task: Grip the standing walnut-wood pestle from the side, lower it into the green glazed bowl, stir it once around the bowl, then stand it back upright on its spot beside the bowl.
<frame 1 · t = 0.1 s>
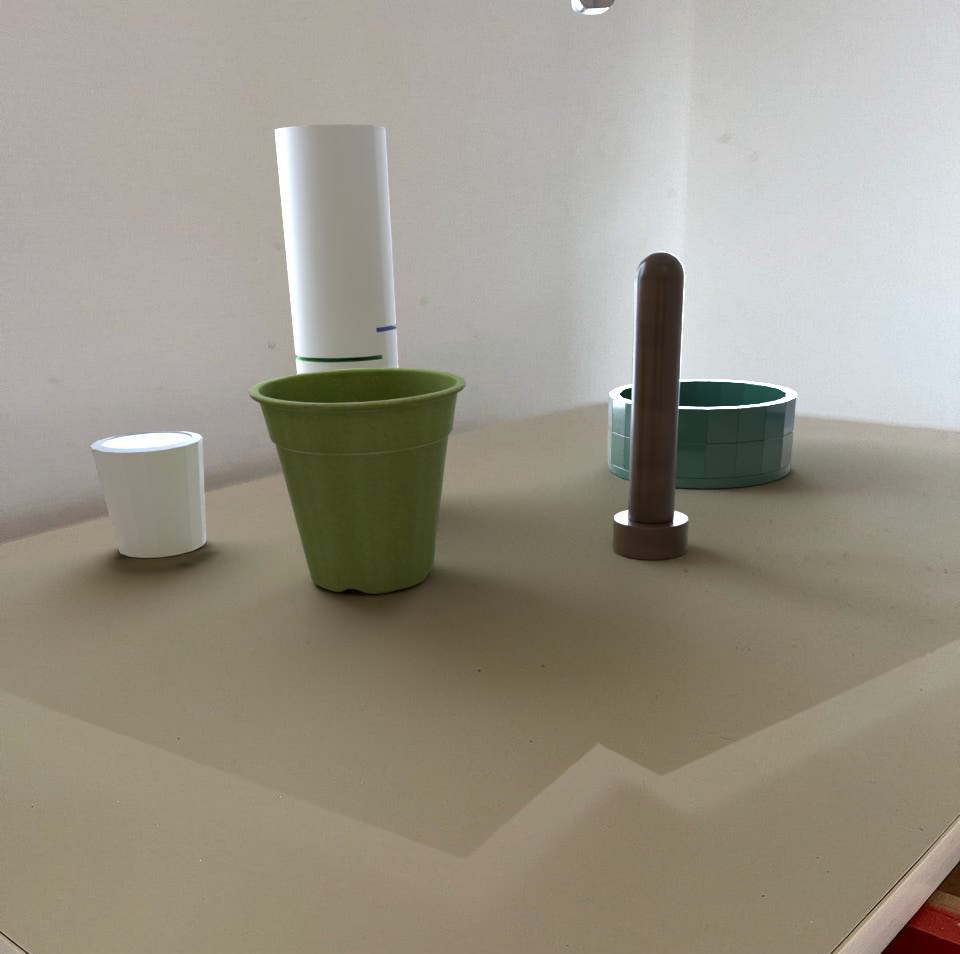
pestle: (649, 548, 64), on the table
cylindrical container: (358, 507, 76), on the table
plant pot: (372, 580, 61), on the table
shot glass: (163, 547, 68), on the table
bowl: (697, 467, 84), on the table
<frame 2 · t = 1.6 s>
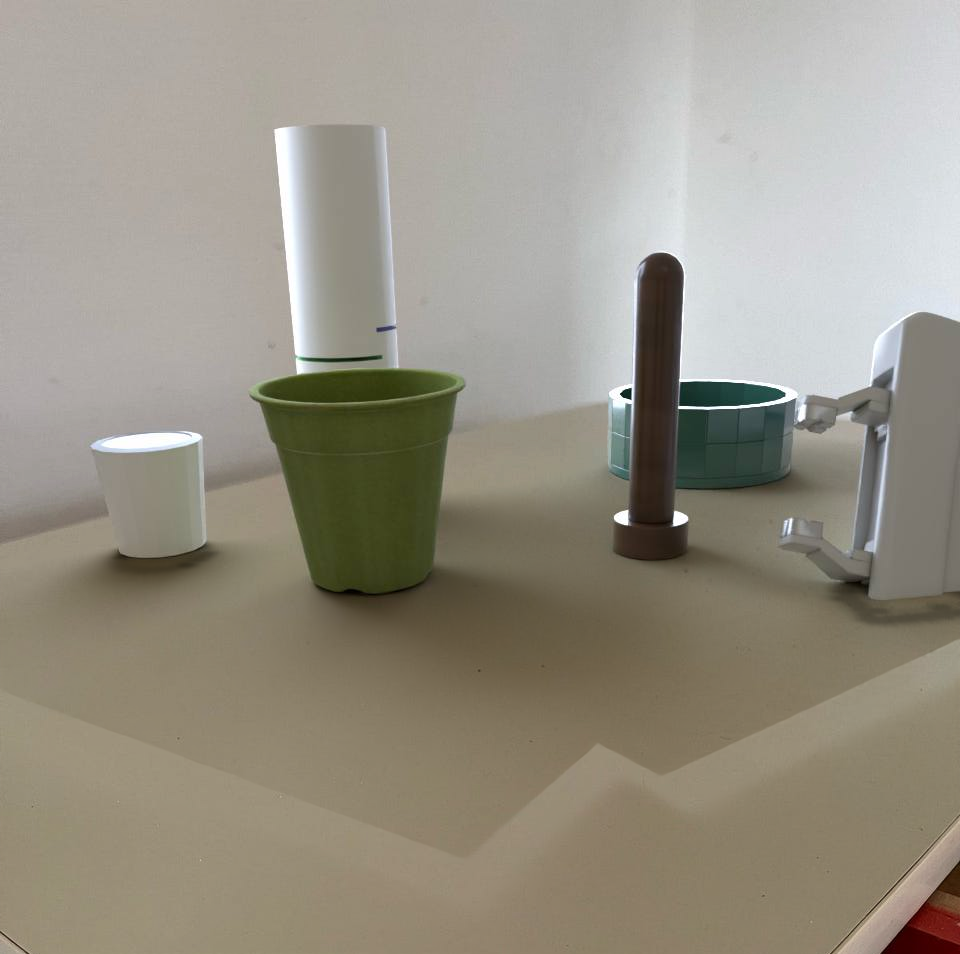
hand: (791, 471, 57), 6 cm above the table, tool horizontal, fingers open, 6 cm apart
nothing on the table moved.
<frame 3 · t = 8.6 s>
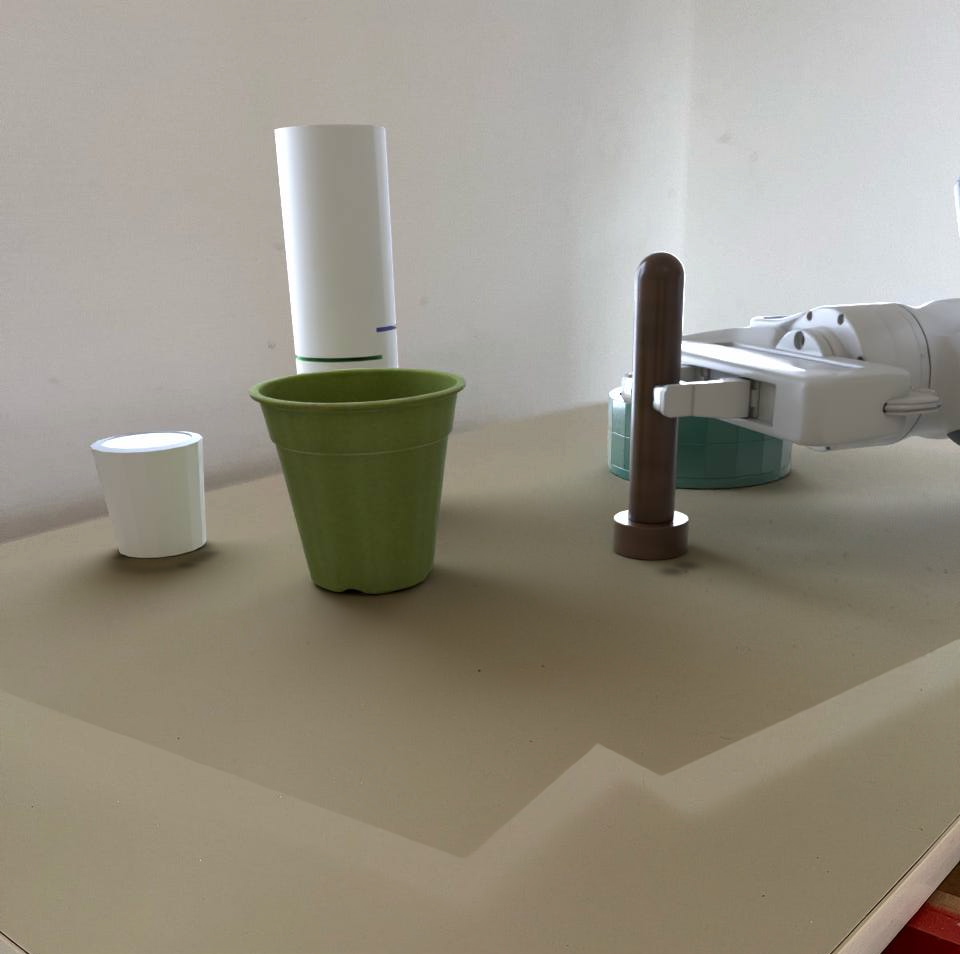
hand: (641, 395, 60), 10 cm above the table, tool horizontal, fingers closed on pestle, 3 cm apart
pestle: (649, 548, 64), on the table, touching gripper
everything else where it was.
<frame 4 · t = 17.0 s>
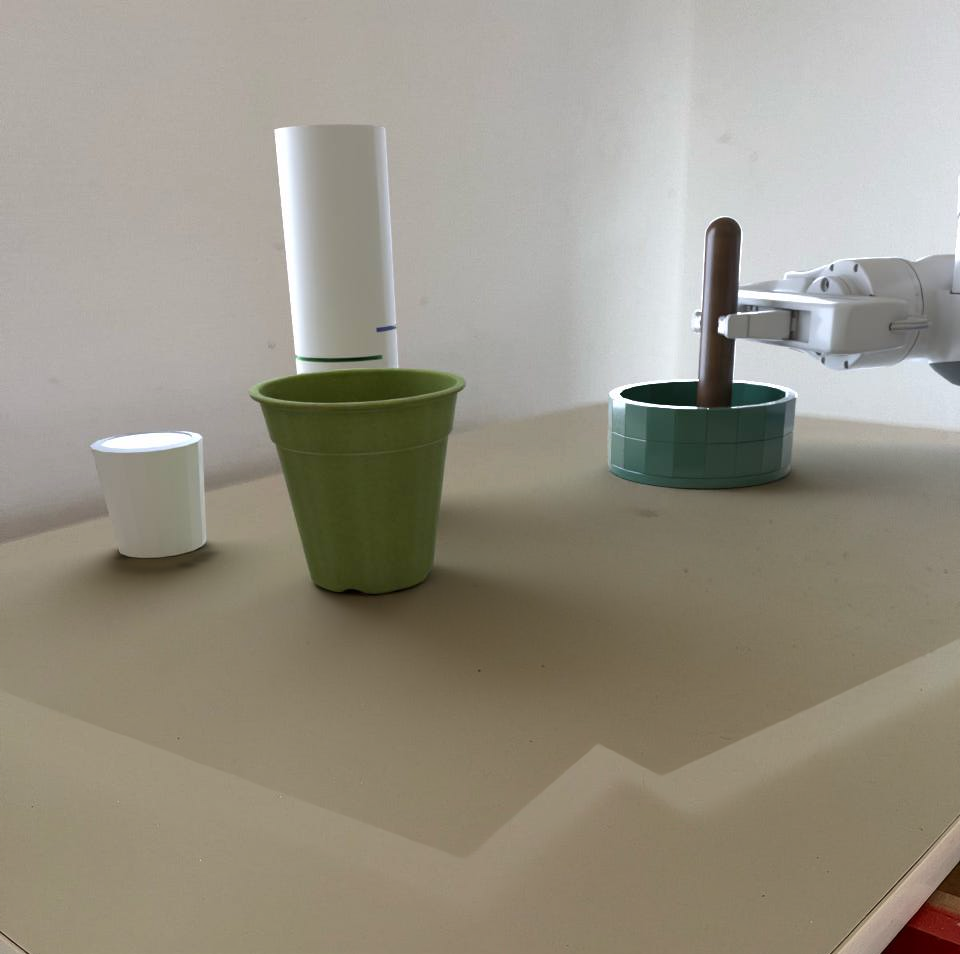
hand: (708, 324, 81), 11 cm above the table, tool horizontal, fingers closed on pestle, 3 cm apart
pestle: (712, 443, 85), point 2 cm above the table, touching gripper
everything else where it was.
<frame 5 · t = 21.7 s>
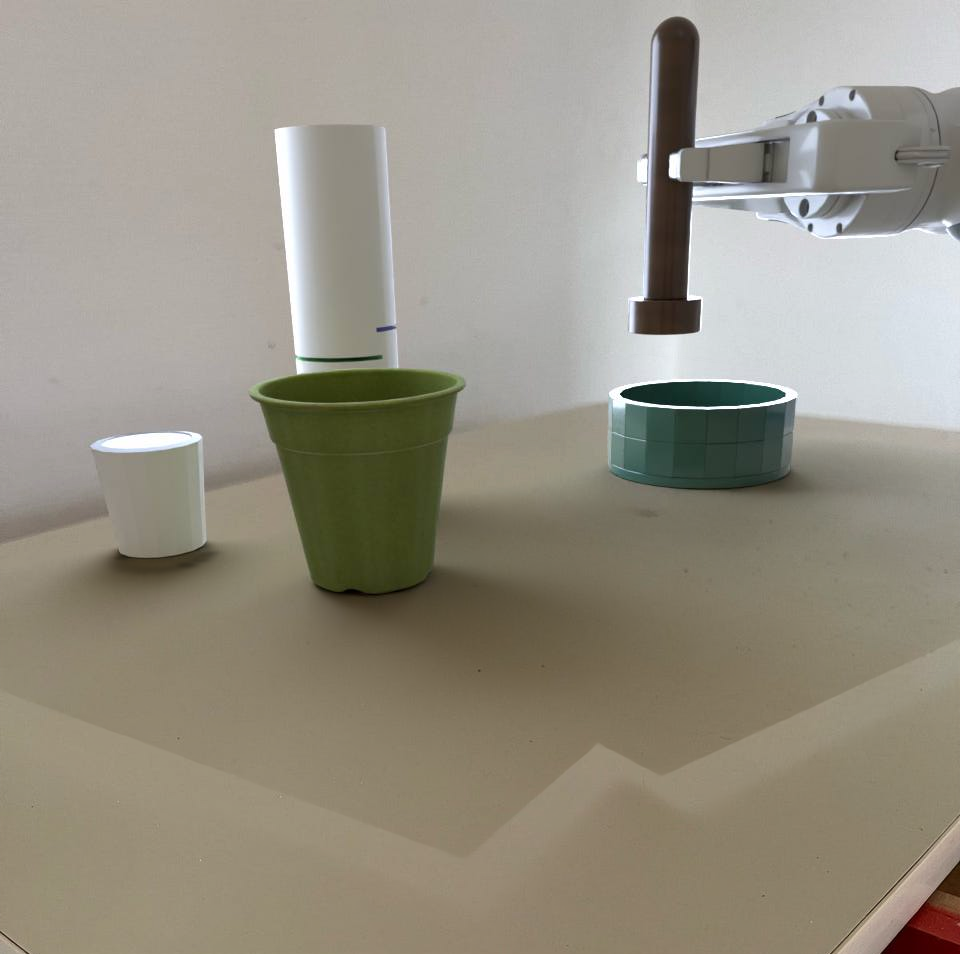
hand: (657, 167, 62), 22 cm above the table, tool horizontal, fingers closed on pestle, 3 cm apart
pestle: (664, 331, 66), point 12 cm above the table, touching gripper
everything else where it was.
when the fingers open (10 cm above the table, at t = 25.4 s): pestle stays where it is, on the table.
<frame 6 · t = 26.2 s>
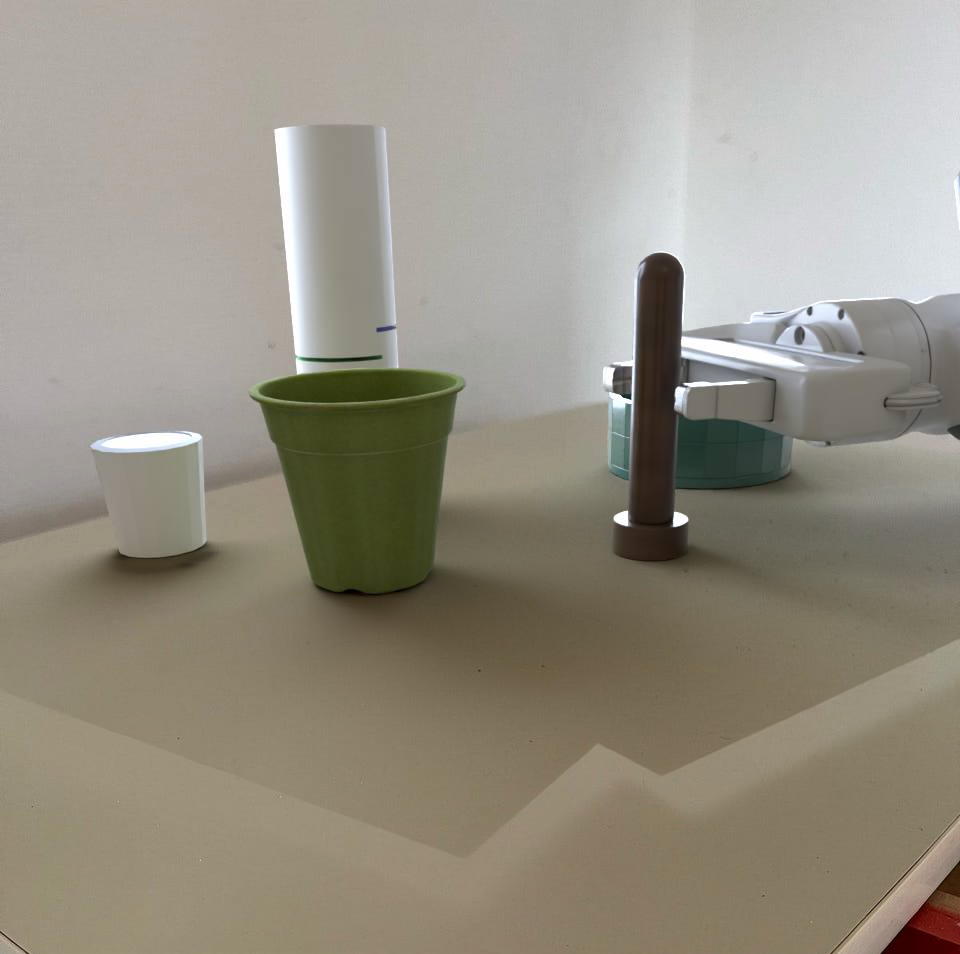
hand: (641, 390, 60), 10 cm above the table, tool horizontal, fingers open, 8 cm apart
pestle: (649, 549, 64), on the table
everything else where it was.
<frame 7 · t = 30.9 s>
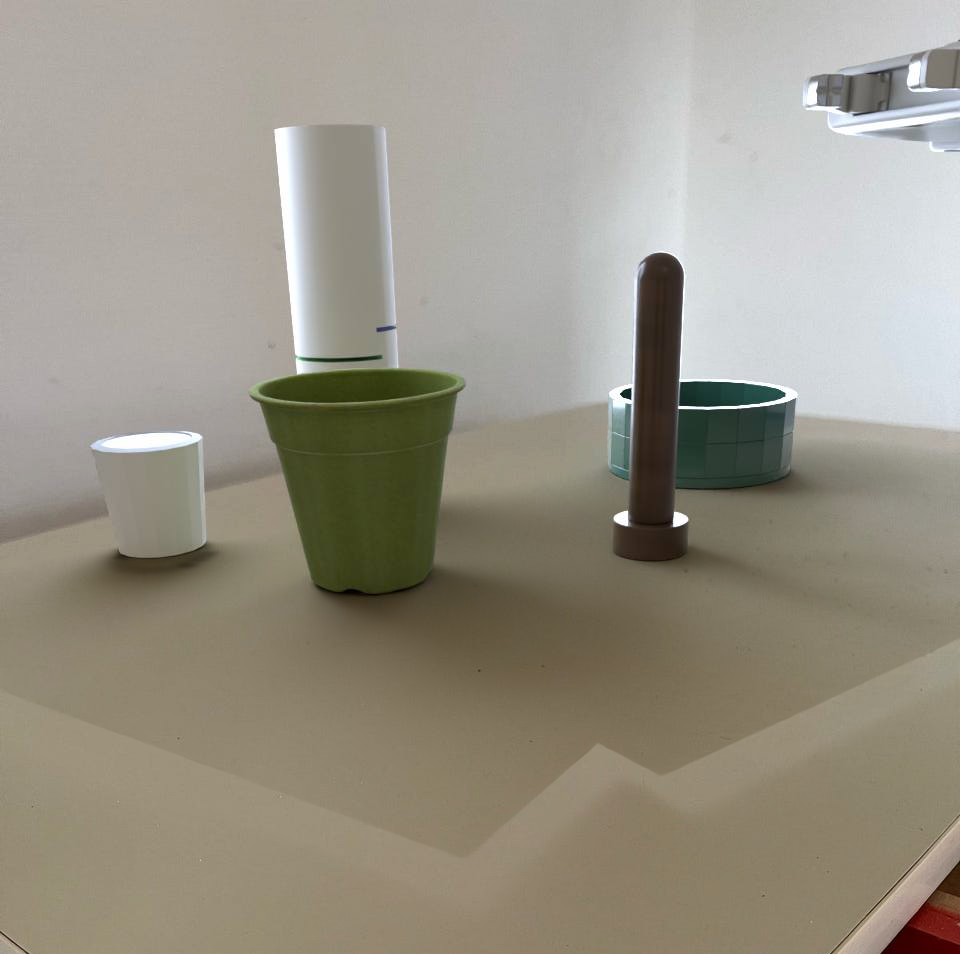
hand: (859, 82, 58), 26 cm above the table, tool horizontal, fingers open, 8 cm apart
nothing on the table moved.
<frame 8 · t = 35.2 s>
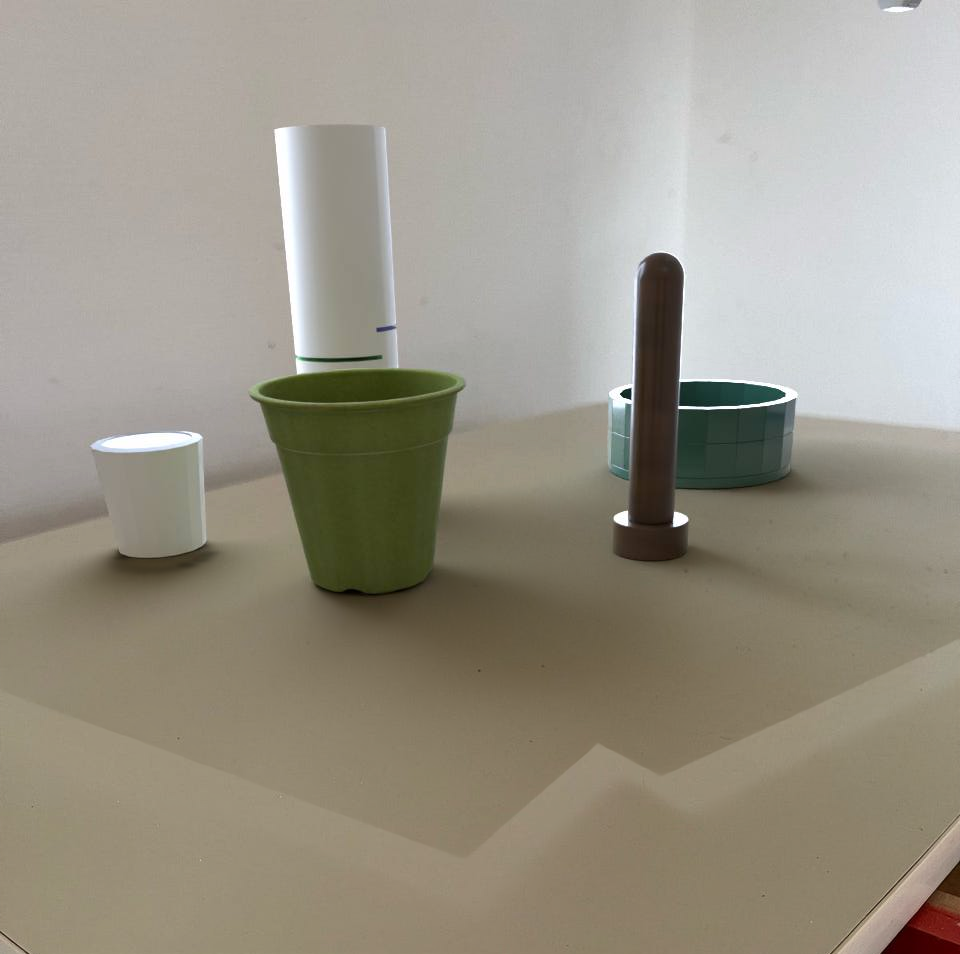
hand: (946, 17, 58), 29 cm above the table, tool pointing down, fingers open, 8 cm apart
nothing on the table moved.
at the end: pestle inside the target area on the table beside the bowl (0.1 cm from its centre), on the table; pestle tilted 0°; the gripper is holding nothing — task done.
